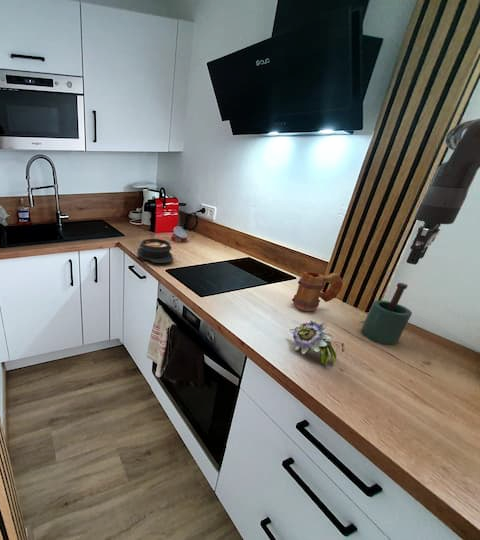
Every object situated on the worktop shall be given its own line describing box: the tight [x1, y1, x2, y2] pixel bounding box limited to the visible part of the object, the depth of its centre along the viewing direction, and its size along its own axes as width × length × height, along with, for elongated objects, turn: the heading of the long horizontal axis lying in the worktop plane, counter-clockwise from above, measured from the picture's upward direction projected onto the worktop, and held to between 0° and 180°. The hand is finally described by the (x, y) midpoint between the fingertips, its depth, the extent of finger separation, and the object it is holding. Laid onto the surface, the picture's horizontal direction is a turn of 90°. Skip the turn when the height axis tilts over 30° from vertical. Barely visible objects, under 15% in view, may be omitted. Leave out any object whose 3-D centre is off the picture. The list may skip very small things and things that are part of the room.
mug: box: [291, 270, 344, 312], centre depth 105 cm, size 15×8×15 cm, turn 80°
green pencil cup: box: [360, 299, 413, 346], centre depth 91 cm, size 9×9×11 cm
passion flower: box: [289, 320, 346, 366], centre depth 83 cm, size 11×11×12 cm
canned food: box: [170, 225, 188, 244], centre depth 183 cm, size 11×10×10 cm
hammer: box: [387, 282, 409, 312], centre depth 89 cm, size 4×4×18 cm
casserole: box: [137, 238, 174, 264], centre depth 152 cm, size 25×19×8 cm
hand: (414, 260), depth 82 cm, fingers open, 8 cm apart
